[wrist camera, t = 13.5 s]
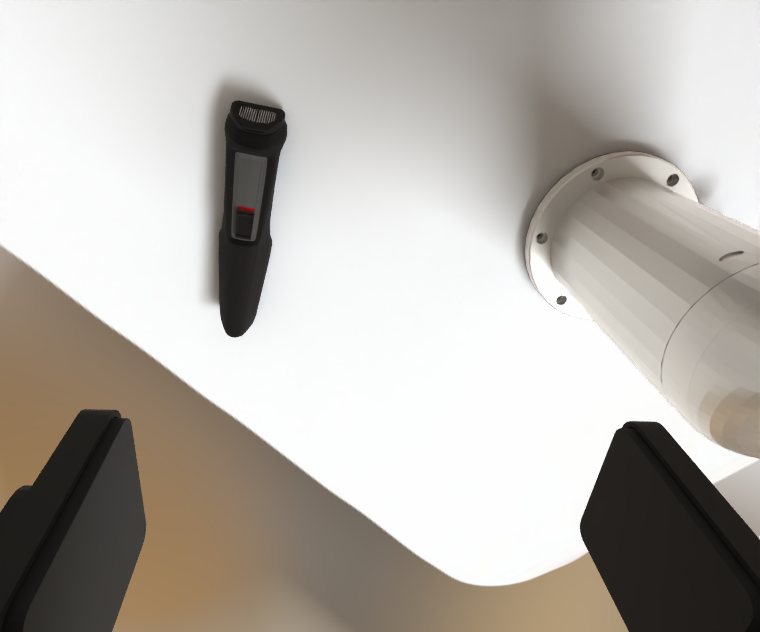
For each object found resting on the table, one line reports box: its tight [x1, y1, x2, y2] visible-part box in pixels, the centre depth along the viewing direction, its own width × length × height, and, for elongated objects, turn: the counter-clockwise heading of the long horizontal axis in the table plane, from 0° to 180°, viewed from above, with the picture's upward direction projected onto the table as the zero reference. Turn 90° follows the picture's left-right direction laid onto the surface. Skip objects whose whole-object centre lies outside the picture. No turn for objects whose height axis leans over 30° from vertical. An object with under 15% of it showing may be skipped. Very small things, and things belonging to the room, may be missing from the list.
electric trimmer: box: [219, 101, 287, 337], centre depth 36 cm, size 4×16×3 cm, turn 168°
